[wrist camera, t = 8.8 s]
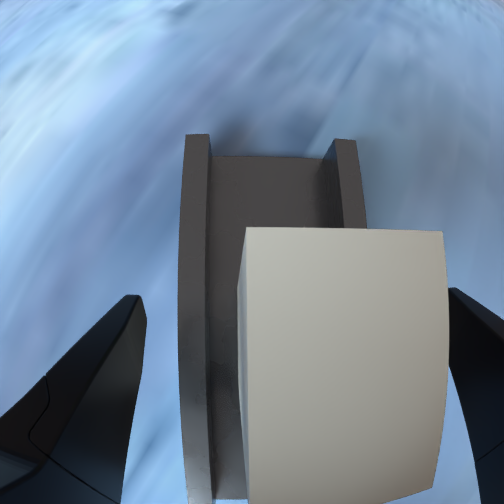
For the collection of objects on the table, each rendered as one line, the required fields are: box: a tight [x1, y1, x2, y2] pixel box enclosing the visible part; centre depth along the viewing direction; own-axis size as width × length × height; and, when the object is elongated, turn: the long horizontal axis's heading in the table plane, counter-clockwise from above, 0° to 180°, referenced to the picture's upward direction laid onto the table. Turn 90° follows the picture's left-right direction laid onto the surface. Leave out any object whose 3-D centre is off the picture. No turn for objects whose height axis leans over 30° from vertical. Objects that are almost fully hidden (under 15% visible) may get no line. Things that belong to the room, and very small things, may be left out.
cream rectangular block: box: [237, 227, 449, 504], centre depth 10 cm, size 5×4×12 cm
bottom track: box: [178, 134, 367, 504], centre depth 15 cm, size 20×9×3 cm, turn 1°
